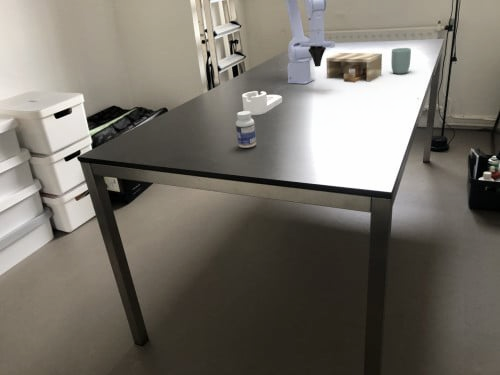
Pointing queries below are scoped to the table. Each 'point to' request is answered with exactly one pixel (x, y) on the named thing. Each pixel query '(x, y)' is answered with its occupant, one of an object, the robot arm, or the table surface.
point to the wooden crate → (346, 60)
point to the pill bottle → (245, 129)
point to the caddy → (355, 74)
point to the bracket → (259, 102)
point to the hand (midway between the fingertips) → (317, 66)
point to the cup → (400, 60)
